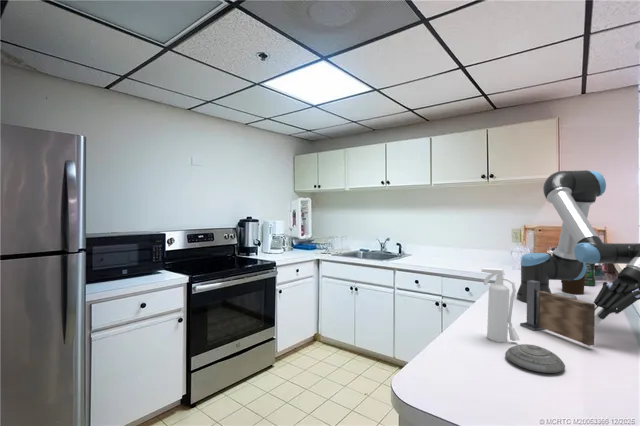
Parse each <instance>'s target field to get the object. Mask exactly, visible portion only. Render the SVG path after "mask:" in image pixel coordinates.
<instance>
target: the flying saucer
mask: <svg viewBox="0 0 640 426" xmlns="http://www.w3.org/2000/svg"><path fill="white" fill-rule="evenodd" d="M504 354H505V357H506V358H507V359H508V360H509V362H512V363H513V364H515V365H516V366H519V367H521V368H524V369H526V370H530V371H534V372H538V373H545V374H546V373H547V374H548V373H549V374H550V373H551V374H552V373H553V374H554V373H559V372H562V371H564V370H565V368H566V364H565V363H564V361H563V360H562V359H561V357H559V355H557V354H556V353H554V352H553V351H550V350H549V349H547V348H545V347H541V346H539V345H535V344H527V343H525V344H524V343H523V344H521V343H520V344H516V345H513V346H511V347H509V348H508V349H507V350H506V351H505V353H504Z"/></svg>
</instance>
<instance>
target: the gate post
mask: <svg viewBox="0 0 640 426" xmlns="http://www.w3.org/2000/svg"><path fill="white" fill-rule="evenodd" d="M538 290H539V291H540V282H538V281H534V280H530V281H527V302H526V321H525V322H521V323H519V326H520V327H522V328H525V329H527V330H530V331H532V332H537V331H543V330H544V331H545V330H546V329H543V328H541V327H539V326H537V291H538Z"/></svg>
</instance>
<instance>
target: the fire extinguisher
mask: <svg viewBox="0 0 640 426" xmlns="http://www.w3.org/2000/svg"><path fill="white" fill-rule="evenodd" d="M481 273H486V274H487V273H488V274H489V275H487V276H486V277H485V278H484V280H483V282H482V283H483V284H484V286H487V285H488V283H489V281H490V280H491V279H493V277H495V276H496V278H495V282H494V283H491V284H490V285H489V286H488V287H489V288H488V303H487V304H488V305H487V327H486V328H487V329H486V330H487V332H486V337H487V338H488V339H489V340H491V341H493V342H496V343H497V342H498V343H507V342H508V334H509V340H510V341H512V342H516V341H520V340H521V339H520V337H519V335H518V332H517V330H516V328H515V327H513V323H512V317H513V316H512V315H513V308H514V307H513V306H514V300H515V299H514V298H515V296H516V292H517V289H516V283H515V282H514V281H512V280H511V279H510V278H508V277H503V276H505V275H506V273H505V269H504V268H489V267H488V268H487V267H483V268H481ZM504 281H505V282H508V283H509V284H511V288H512V289H511V290H512V291H511V294H510V288H509V286H508V285H506V284H504Z"/></svg>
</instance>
